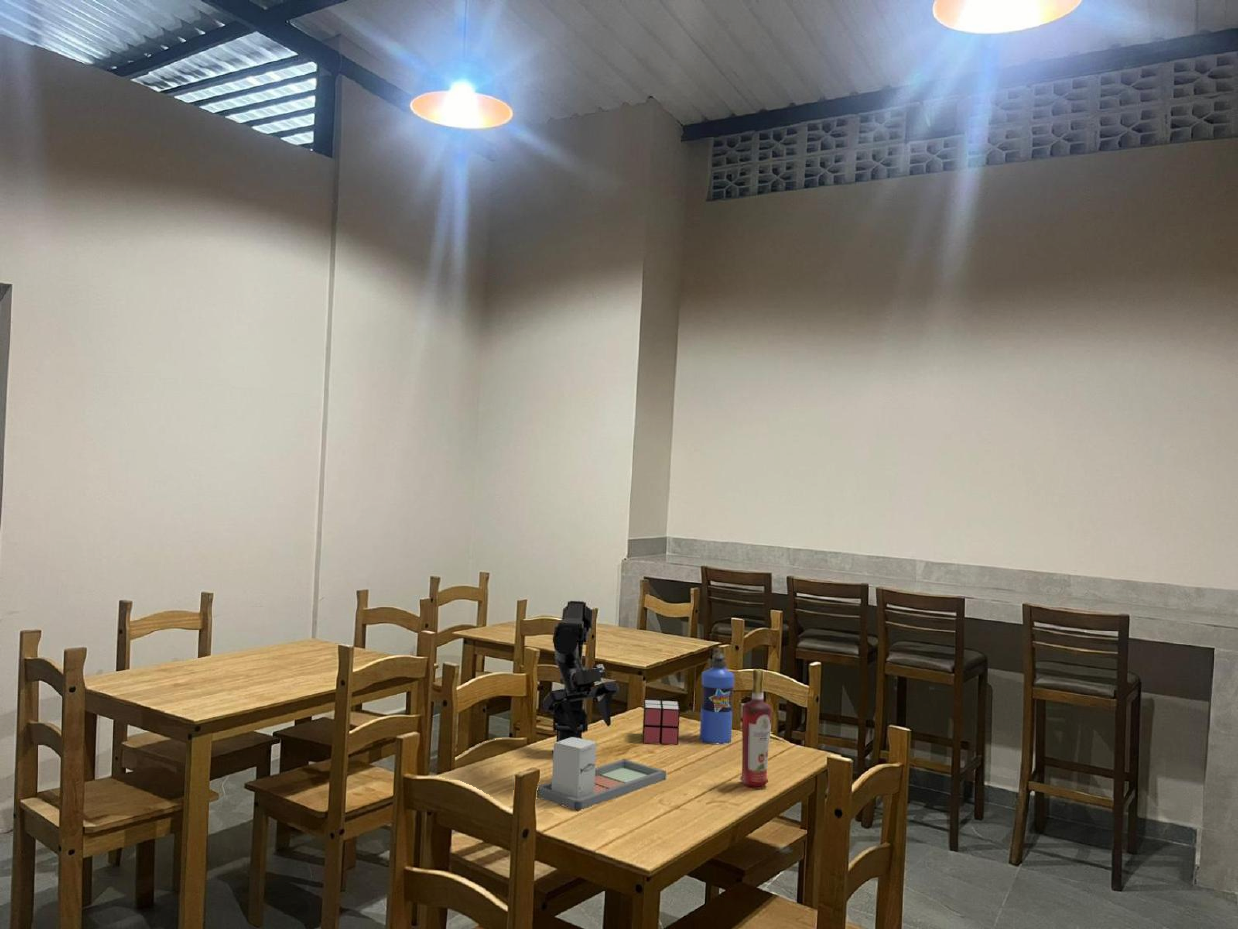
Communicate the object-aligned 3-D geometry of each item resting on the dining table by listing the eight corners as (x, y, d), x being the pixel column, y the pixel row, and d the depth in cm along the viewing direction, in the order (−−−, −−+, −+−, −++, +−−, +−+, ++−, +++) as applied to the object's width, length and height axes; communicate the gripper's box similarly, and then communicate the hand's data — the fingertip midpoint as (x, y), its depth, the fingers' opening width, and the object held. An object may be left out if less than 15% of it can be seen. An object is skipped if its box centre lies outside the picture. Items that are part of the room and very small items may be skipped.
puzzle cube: (678, 745, 252) (679, 709, 252) (642, 743, 252) (644, 707, 252) (676, 736, 262) (678, 701, 262) (642, 734, 262) (643, 699, 262)
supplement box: (576, 805, 200) (579, 748, 200) (549, 798, 204) (552, 742, 204) (595, 797, 206) (597, 741, 206) (568, 790, 210) (571, 735, 210)
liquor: (759, 779, 225) (764, 666, 226) (774, 788, 218) (779, 672, 219) (733, 781, 222) (738, 667, 223) (748, 791, 215) (753, 673, 216)
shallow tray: (534, 795, 205) (534, 787, 205) (623, 766, 230) (623, 759, 230) (578, 811, 196) (578, 802, 196) (665, 779, 221) (666, 771, 221)
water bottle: (695, 735, 263) (699, 649, 264) (726, 735, 265) (729, 650, 265) (704, 744, 254) (708, 655, 255) (735, 744, 256) (739, 656, 256)
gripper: (551, 658, 210) (573, 719, 202) (617, 649, 221) (640, 707, 213) (533, 681, 217) (553, 741, 209) (598, 671, 228) (620, 728, 220)
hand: (593, 728), depth 213 cm, fingers open, 9 cm apart
